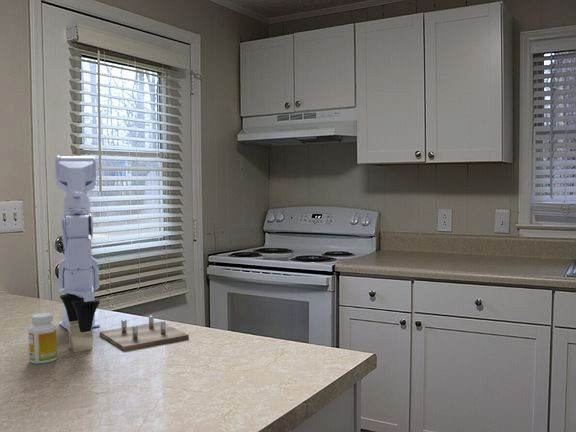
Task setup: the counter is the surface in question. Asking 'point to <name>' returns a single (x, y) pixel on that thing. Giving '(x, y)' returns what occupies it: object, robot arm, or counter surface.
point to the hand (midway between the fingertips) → (80, 328)
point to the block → (79, 338)
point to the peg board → (143, 335)
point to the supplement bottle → (42, 339)
